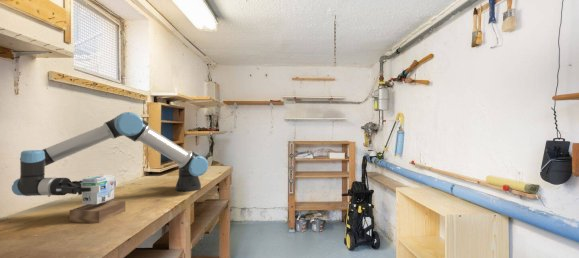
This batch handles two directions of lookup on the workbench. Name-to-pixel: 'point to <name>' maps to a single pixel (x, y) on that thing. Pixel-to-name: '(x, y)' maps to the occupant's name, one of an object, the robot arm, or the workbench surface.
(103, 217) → the walnut block
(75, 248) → the workbench surface
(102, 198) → the light bulb box
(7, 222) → the workbench surface
